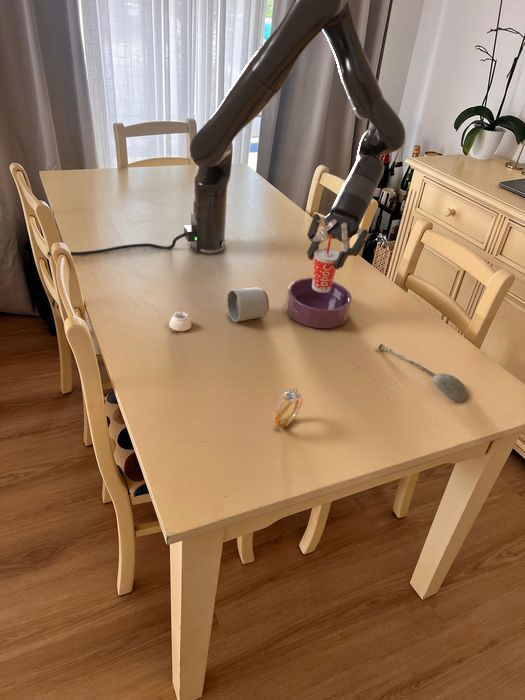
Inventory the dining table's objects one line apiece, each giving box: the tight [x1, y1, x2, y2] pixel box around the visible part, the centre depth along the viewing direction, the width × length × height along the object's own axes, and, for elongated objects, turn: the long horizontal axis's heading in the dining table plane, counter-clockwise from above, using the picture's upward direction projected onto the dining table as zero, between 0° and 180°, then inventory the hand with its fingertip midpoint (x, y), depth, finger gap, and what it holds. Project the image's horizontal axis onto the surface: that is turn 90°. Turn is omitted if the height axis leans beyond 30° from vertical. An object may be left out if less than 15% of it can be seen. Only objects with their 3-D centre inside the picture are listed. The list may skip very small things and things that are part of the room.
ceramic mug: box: [226, 287, 270, 323], centre depth 123 cm, size 11×8×8 cm
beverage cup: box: [312, 234, 340, 293], centre depth 120 cm, size 6×6×14 cm
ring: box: [273, 388, 304, 429], centre depth 94 cm, size 7×3×8 cm, turn 135°
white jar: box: [168, 311, 193, 332], centre depth 117 cm, size 5×3×5 cm
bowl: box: [285, 277, 352, 329], centre depth 127 cm, size 15×15×6 cm
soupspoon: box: [377, 343, 468, 403], centre depth 112 cm, size 22×3×7 cm
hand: (323, 263), depth 119 cm, fingers closed on beverage cup, 6 cm apart
